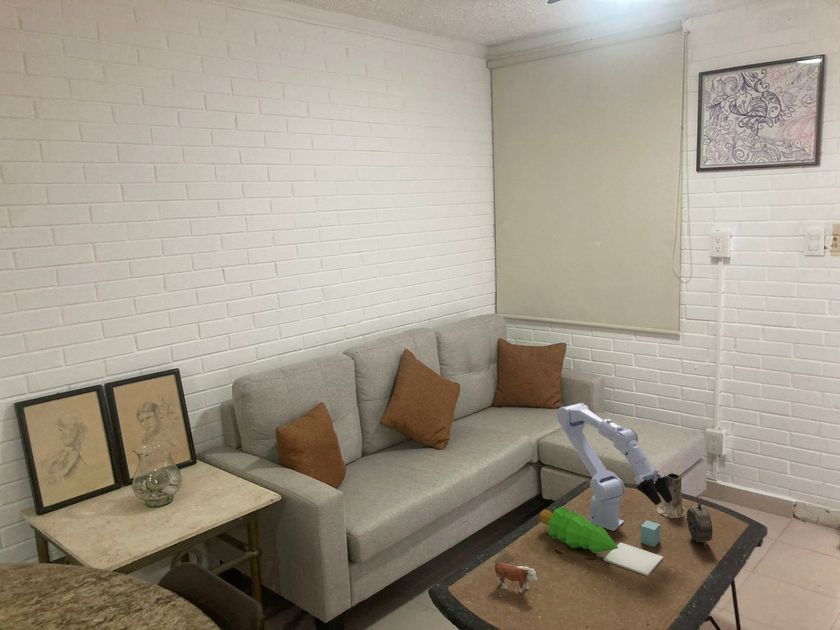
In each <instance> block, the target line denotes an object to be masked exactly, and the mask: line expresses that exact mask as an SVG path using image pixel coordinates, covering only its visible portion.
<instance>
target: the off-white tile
mask: <svg viewBox="0 0 840 630" xmlns="http://www.w3.org/2000/svg"><path fill="white" fill-rule="evenodd" d="M616 545H617V547H618V548H617V549H612V550H610V552H608V553H607V554H606V556H605V557H603V561H605V562H607V563H610V564H613V565H616V566H618V567H621V568H624V569H627V570H630V571H632V572H635V573H639V574H640V575H643V576H646V577H649V575H650V574H651V573H652V571H654V569H655V568H656V567H657V566H659V564H660V563H661V561H662V560H663V559H664V556H663V555H662V556H661V555H660V554H656V553H653V552H650V551H647V550H645V549H641V548H640V547H639V548H638V547H635V546H633V545H630V544H626V543H624V542H619V543H618V544H616Z"/></svg>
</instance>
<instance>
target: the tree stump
mask: <svg viewBox="0 0 840 630" xmlns="http://www.w3.org/2000/svg"><path fill="white" fill-rule="evenodd" d="M663 477H667V478H668V486H669V490H670V493H671V495H672V498H673V500H672V501H670V502H669V503H666V502H665V500H664V499H663V501H662V502H661V504H660V505H658V506H657V508H656V511H657V513H658V514H660V515H662V516H664V517H666V518H669V519H681V517H683V516H684V515H683V514H685V512H687V511H688V510H687V508H686V507H685V506H683V494H682V493H683V492H682V476H681V475H678V474H676V473H669V474H667V475H664V476H663ZM683 518H684V517H683Z"/></svg>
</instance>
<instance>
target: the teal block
mask: <svg viewBox="0 0 840 630" xmlns="http://www.w3.org/2000/svg"><path fill="white" fill-rule="evenodd" d="M643 522H644V523H642V524H641V525H640V543H641V544H643V543H644V544H643V545H647V546H650V547H652V546H653V547H652V548H655V547H656V546H657V545H658V544H659V543H660V542H661V541H660V539H661V524H660V523H658V522H653V521H651V520H648V519H647V520H645V521H643Z"/></svg>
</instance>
